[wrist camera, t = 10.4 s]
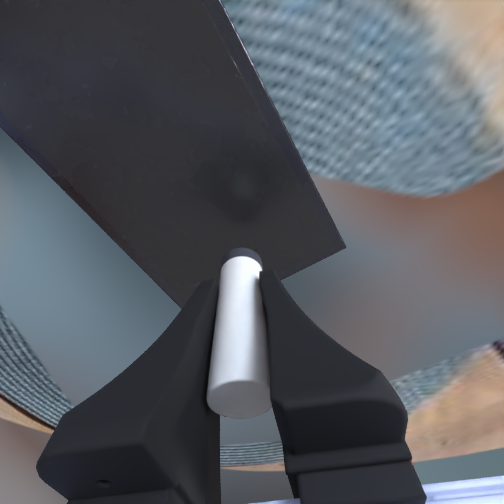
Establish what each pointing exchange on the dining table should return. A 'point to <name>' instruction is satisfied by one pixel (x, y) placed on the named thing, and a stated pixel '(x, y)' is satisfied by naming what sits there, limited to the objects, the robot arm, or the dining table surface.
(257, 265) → the white cylinder
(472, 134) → the dining table surface
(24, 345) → the dining table surface
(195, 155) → the tablet
